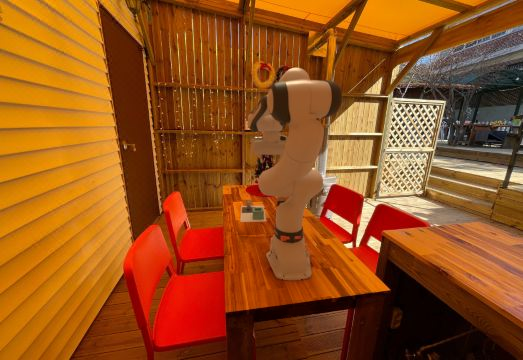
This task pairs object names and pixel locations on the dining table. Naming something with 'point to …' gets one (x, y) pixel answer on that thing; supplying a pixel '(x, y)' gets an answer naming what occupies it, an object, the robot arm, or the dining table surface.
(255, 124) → the robot arm
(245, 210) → the post board
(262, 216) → the collar
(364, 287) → the dining table surface
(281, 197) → the ammunition clip
